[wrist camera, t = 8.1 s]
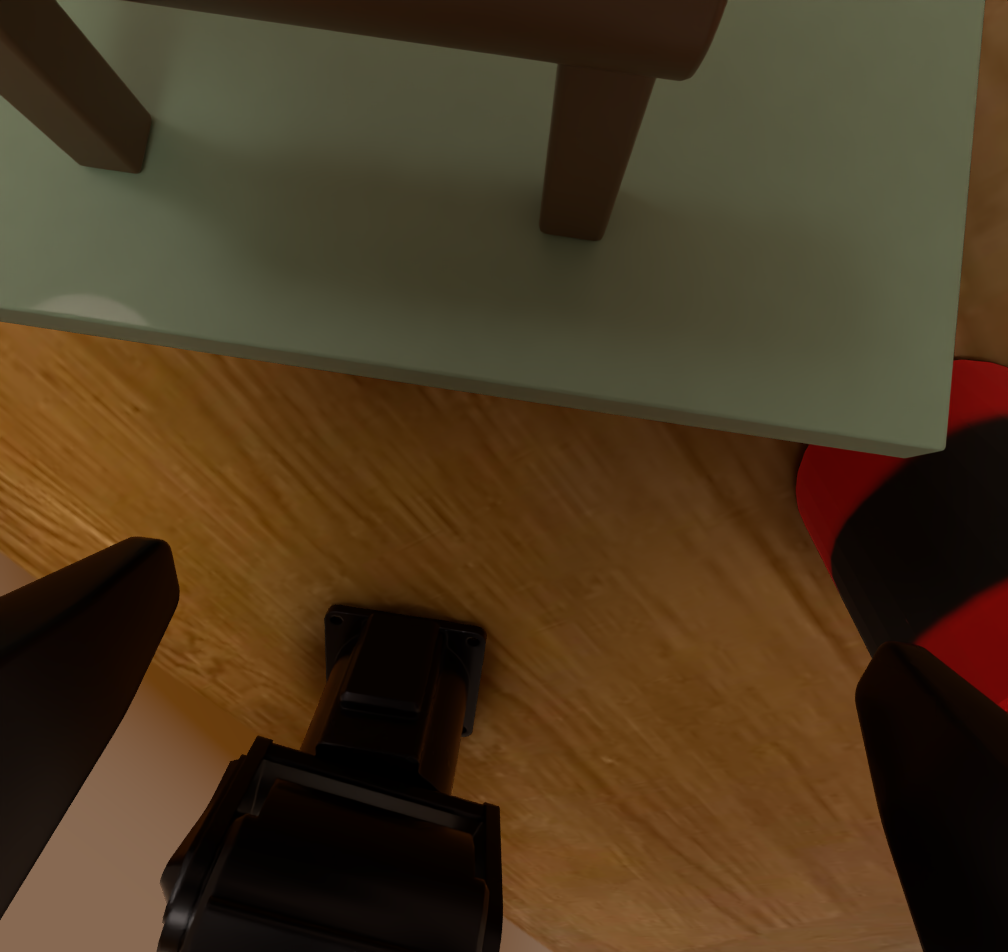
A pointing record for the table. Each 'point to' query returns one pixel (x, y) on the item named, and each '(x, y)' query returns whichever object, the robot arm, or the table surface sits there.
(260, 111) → the lid
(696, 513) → the table surface
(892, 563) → the soda can
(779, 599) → the table surface
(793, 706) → the table surface
